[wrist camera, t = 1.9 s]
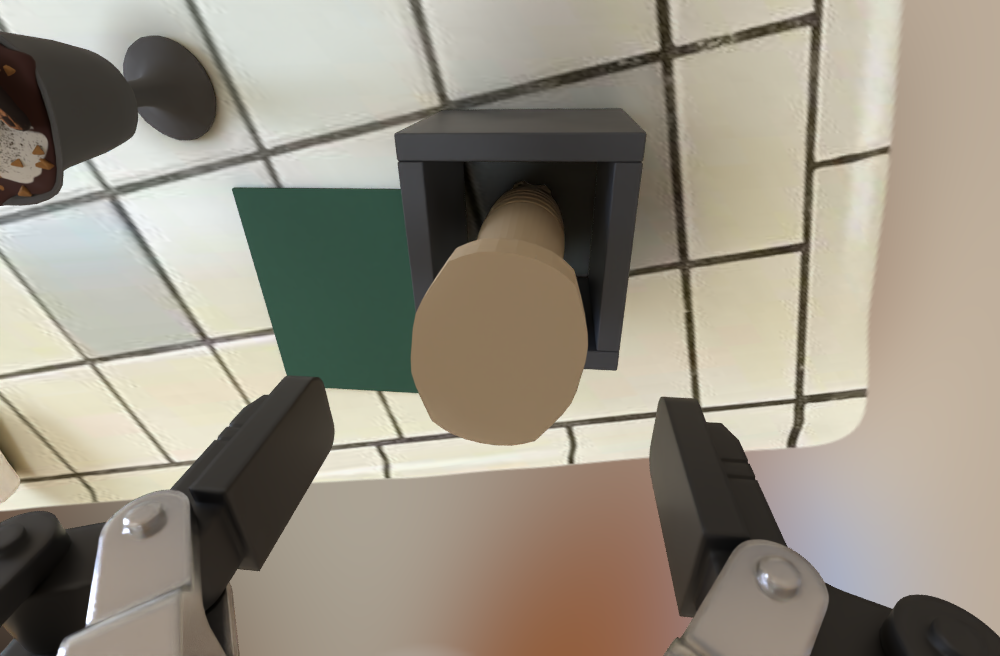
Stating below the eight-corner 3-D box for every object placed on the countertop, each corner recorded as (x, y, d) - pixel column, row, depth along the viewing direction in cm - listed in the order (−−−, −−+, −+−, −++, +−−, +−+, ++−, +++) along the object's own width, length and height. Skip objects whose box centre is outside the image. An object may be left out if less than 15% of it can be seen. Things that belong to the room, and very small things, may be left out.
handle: (586, 156, 25) (612, 272, 12) (559, 269, 28) (556, 457, 15) (494, 139, 25) (419, 235, 12) (478, 254, 28) (405, 428, 15)
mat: (234, 187, 28) (231, 188, 27) (438, 189, 26) (437, 190, 26) (291, 383, 35) (289, 385, 34) (455, 392, 33) (454, 395, 33)
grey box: (441, 109, 24) (393, 133, 17) (622, 108, 23) (647, 132, 16) (454, 288, 29) (421, 361, 22) (604, 293, 28) (617, 371, 21)
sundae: (115, 133, 27) (-299, 210, 14) (102, -5, 23) (-462, -73, 11) (230, 174, 27) (-69, 285, 14) (233, 43, 24) (-154, 35, 11)
